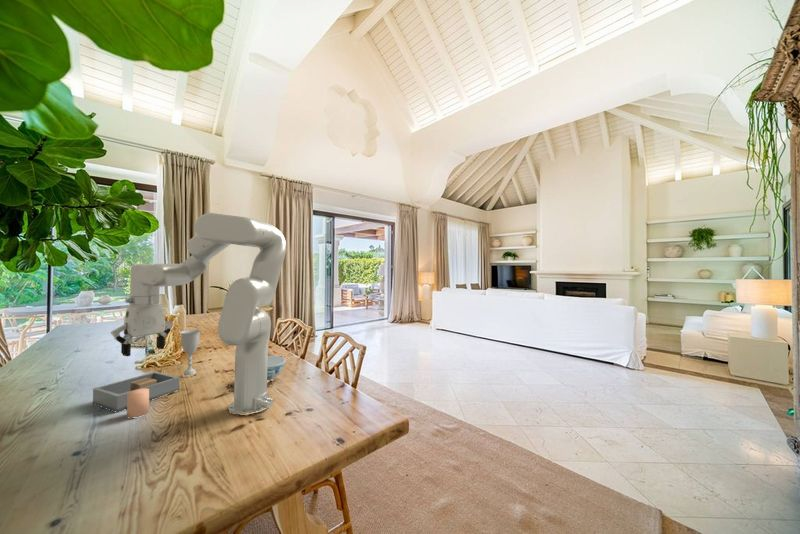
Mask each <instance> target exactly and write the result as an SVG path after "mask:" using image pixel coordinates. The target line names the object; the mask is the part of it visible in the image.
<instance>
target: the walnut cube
mask: <svg viewBox="0 0 800 534" xmlns="http://www.w3.org/2000/svg"><path fill="white" fill-rule="evenodd" d="M156 383H157V380H155V379H151V378H145V379H141V380H138V381H134V382H131V386H130V391H133V390H136V389H140V388H143V387H146V386H150V385H153V384H156Z"/></svg>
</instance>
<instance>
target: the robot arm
mask: <svg viewBox="0 0 800 534" xmlns="http://www.w3.org/2000/svg"><path fill="white" fill-rule="evenodd" d="M194 232H195V235H193V236H192V238H190V239H189V240H188V241H187V243H186V247H187V250H188V252H189V253H190V254H191V255H190V256H189V257H188V258H186V259H185V260H184V261H182V262H181V263H154V264H152V263H151V264H150V263H135V264H133V265H131V267H130V277H129V278H130V282H129V283H130V286H129V287H130V288H129V289H130V290H129V296H128V298H125V300H124V302H125V303H126V304H128V305H127V307H126V311H125V315H124V322H123V324H122V325H121V326H119V327H117V328H115V329H113V330H111V331H110V334H111V336H112V337H113V338H114V340H116V341H117V342H118V343H120V344H121V345H120V346H121V347H120V348H121V351H120V353H121V354H122V356H124V357H130V356H131V353H132V352H131V345H132V344H131V343H130V342H131V341H132V340H133V339H134V338H139V337H144V336H145V337H146V336H152V335H157V337H156V349H159V350H163V349H165V346H166V338H167V336H168V334H169V333H170V332H171V331H172V329H173V326H174V323H173V322H171V321H169V320H166V317H165V311H164V307H163V304H162V303H160V288H161V287H170V286H172V287H174V286H183V285H187V284H189V283H191V282H193V281H194V280H195V279H197V278H198V277H200V276H202V274H203V273H205V271H206V270H207V268H208V267H209V264H210V260H211V259H213V258H214V257H216V255H218V254H219V253H221V252H222V251H224V249H227V248H228V247H229V246H230V245H237V246H243V247H251V248H252V247H253V248H258V249H259V252H258V253H257V255H256V256H255V258H254V260H253V263H252V267H251V270H250V273H249V276H248V277H240V278H238V279H236V280H235V281H233V282H232V283H231V284H230V285H229V287H228V289H227V291H226V293H225V298H224V302H223V305H222V307H221V308H222V309H221V312H220V316H219V321H218V325H217V333H218V337H219V338H220V340H221V342H223V344H225V345H228V346H236V348H235V353H234V379H233V380H234V389H233V390H234V392H233V401H232V402H231V403H229V405H228V407H227V408H228V410H229V411H230V412H231V413H235V414H246V413H252V412H256V411H260V410H262V409H264V408H268V409H270V408H271V407H272V404H274V403H275V398H271V397H270V391H268V383H267V358H268V356H269V355H268V354H269V340H270V336H271V335H270V334H271V330H272V329H271V328H272V320H271V317H270V315H269V313H267V311H265V310H264V309H260V308H261V307H264V306H267V305H269V304H270V303H272V301H273V300H274V298H275V295H276V292H277V286H278V284H279V280H280V275H281V271H282V268H283V264H284V260H285V258H286V253H287V242H286V238H285V236H284V234H283V233H282V231H280V229H278V228H277V227H276V226H274V225H272V223H271V224H270V223H268V222H265V221H261V220H258V219H254V218H250V217H246V216H240V215H239V216H238V215H230V214H223V213H216V212H208V213H204V214H201V215H200V216H199V217H198V218H197V219H196V221H195V222H194ZM259 307H260V308H259ZM122 332H123V334H124V335H123V336H121V335H120V334H121V333H122ZM229 411H228V412H229ZM231 413H230V414H231Z"/></svg>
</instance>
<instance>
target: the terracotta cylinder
mask: <svg viewBox="0 0 800 534" xmlns="http://www.w3.org/2000/svg"><path fill="white" fill-rule="evenodd" d="M149 406H150V402H149V389H147V388H143V389H136V390H133V391H130V392H128V394H127V409H126V418H127V417H129V418H133V417H139V416H142V415H145V414H147V413H148V412H149V411H150V407H149ZM149 413H150V412H149ZM149 413H148V414H149ZM148 414H147V415H148ZM145 416H146V415H145Z"/></svg>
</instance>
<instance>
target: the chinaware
mask: <svg viewBox="0 0 800 534" xmlns="http://www.w3.org/2000/svg"><path fill="white" fill-rule="evenodd" d="M285 364H286V358H285V357H283V356H279V355H268V358H267V380H271V379H274V380H275V378H276V377H278V376H279V375H280V374H281V373H282V371H283V370H284V367H285Z"/></svg>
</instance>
